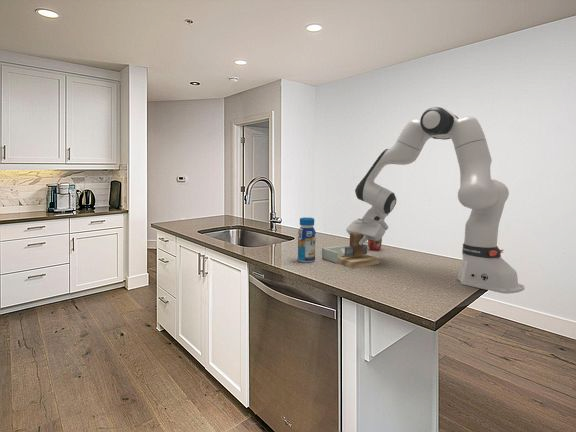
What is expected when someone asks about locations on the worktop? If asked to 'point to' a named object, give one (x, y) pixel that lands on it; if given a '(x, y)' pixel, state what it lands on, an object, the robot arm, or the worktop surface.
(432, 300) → the worktop surface
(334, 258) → the tray
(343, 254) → the tile
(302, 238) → the beverage bottle
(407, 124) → the robot arm
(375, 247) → the smoothie
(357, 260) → the board
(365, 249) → the stacked block structure
